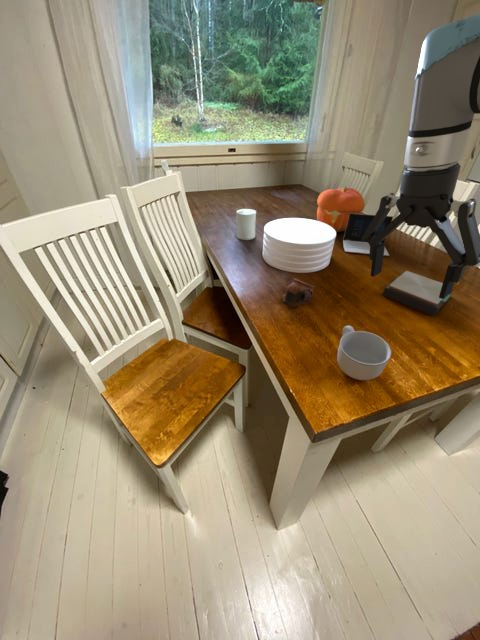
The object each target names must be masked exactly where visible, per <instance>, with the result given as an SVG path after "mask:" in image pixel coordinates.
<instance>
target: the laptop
mask: <svg viewBox="0 0 480 640" xmlns="http://www.w3.org/2000/svg"><path fill="white" fill-rule="evenodd" d="M375 215H376V214H367V213H362V214H353V213H350V215H349V218H348V222H347V226H346V230H345V231H344V234H343V238H342V245H343V249H344V253H350V254H361V255H370V254H369V253H370V245H369V243H367V242H363V241H362V236H363V235H364V233H365V231H366V230H367V228H368V226H369V225H370V223H371V221H372V220H373V218H374V216H375ZM392 220H394V216H390V215H387V217H386V218H385V220H384V221H383V223H382V224H381V226H380V227H379V229H378V231H377V232H376V234H375V235H374V236H377V235H378V234H379V233H380V232H381V231H382V230H383V229H384V228H385V227H387V226H388V225H389V224H390V223H391V222H392ZM386 238H387V237H386ZM386 238H385V239H384V240H383V241H381V242H380V244H381V243H384V244H385V241H386ZM383 257H390V254H389V252H388V249H387V248H386V247H385V248H384V256H383Z"/></svg>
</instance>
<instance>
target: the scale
mask: <svg viewBox="0 0 480 640" xmlns="http://www.w3.org/2000/svg"><path fill="white" fill-rule="evenodd" d="M442 285H443V282H441V281H437V280H436V279H435V280H434V279H432V278H429V277H426V276H423V275H421V274H417V273H414V272H412V271H409V270H406V271H403V272H402V273H400V275H399V276H397V277H396V278H395V279H394V280H393V281H391V282H390V283H389V284H388V285H386V286H385V287H384V289H383V292H382V296H384V297H385V298H388V299H391V300H393V301H396V302H398V303H400V304H402V305H405V306H407V307H410V308H413V309H415V310H417V311H420V312H422V313H425V314H427V315H429V316H432V317H435V315H436V314H437V313H438V312H439V311H440V309H441V308H442V307H443V306H444V305H445V303H446V302H447V301H448V300H449V298H450V297H451V296H452V293H453V292H454V290H455V289H454V288H452V291H451V293H450V294H449V295H448V296H446V297H445V298H444V299H441V298H439V295H440V292H441V288H442Z"/></svg>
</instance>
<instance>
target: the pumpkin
mask: <svg viewBox="0 0 480 640" xmlns="http://www.w3.org/2000/svg"><path fill="white" fill-rule="evenodd" d="M316 203H317V206H318V207H317V210H316V221H319V222H322V223H325V224H327V225H329V226H331V227H332V228H333V229H334V230H335V231H336V233H340V232H345V230H346V226H347V222H348V218H349V215H350V213H353V214H363V211H364V210H365V206H366V205H365V198H364V197H363V195H362V194H361V193H360V192H359V191H358V190H357V189H355V188H351V187H346V186H344V187H340V188H337V189H335V188H328V189H326V190H324V191H322V192H321V193H320V194H319V195H318V197H317V201H316Z"/></svg>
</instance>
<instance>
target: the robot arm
mask: <svg viewBox="0 0 480 640" xmlns="http://www.w3.org/2000/svg"><path fill="white" fill-rule="evenodd" d="M412 99H413V100H412V107H411V113H410V123H409V128H408V134H407V138H406V146H405V153H404V160H403V165H404V166H405V168H403V170H402V173H401V178H400V186H399V196H398V195H397V196H396V194H395V193H394V192H390V193H388V194H387V195H384V196H382V197H381V198H380V201H379V205H378V210H377V211H376V213H375V214H374V215H375V216H374V218H373V220H372V221H371V223H370V225H369V226H368V228H367V230H366V231H365V233H364V235H363V236H362V241H363V242H367V243H369V245H370V253H369V254H368V259H369V260H370V261H371V268H370V277H372V278H374V277H377V276H378V275H379V274H380V273H382V270H383V263H384V257H385V256H384V248H386V243H385V242H384V243H381V244H380V242H381V241H383V240H384V239H385V238H387V237H388V236H389V235H392V233H393V232H394V231H395V230H396V229H398V228H399V227H400V226H402V224H404V223H405V224H406V226H411V227H413V226H414V227H415V226H417V227H419V228H423V229H427V228H428V227H429V229H430V231H431V232H432V233H434V234H435V235H436V237H437V239H438V240H439V241H440V243H441V245H442V247H443V248H444V250H445V251H446V253H447V255H448V257H449V258H450V260H451V261H452V262H451V263H449V264H448V265H447V267H446V270H445V271H446V272H445V274H444V278H443V282H442V283H443V285H442V288H441V292H440V295H439V298H441V299H444V298H445V297H446V296H448V295H449V294H450V293H451V291H452V289H454V285H455V284H457V283H459V282H460V281H461V280H462V279H463V278H464V276H465V272H466V270H467V267H468V266H471V267H475V266H477V265H479V264H480V230H479V226H478V222H477V219H476V207H477V200H476V198H469V199H468V200H462V201H461V200H460V201H457V200H455V201H454V193H455V190H456V186H457V182H458V178H459V175H460V171H461V165H460V163H459V162H460V161H461V160H463V158H464V156H465V152H466V148H467V143H468V140H469V136H470V131H471V127H472V125H473V120H474V117H475V114H478V115H479V114H480V13H478V14H475V15H471V16H467V17H465V18H462V19H460V20H455V21H452V22H449V23H447V24H444V25H443V24H442V25H440V26H439V27H437V28H435V29H433V30H431V31H430V32H429V33H428V34H427V35H426V36H425V38H424V40H423V42H422V46H421V50H420V56H419V60H418V67H417V69H416V75H415V76H414V90H413V98H412ZM395 206H396V208H397V210H398V212H399V214H397V216H395V218H393V219H392V222H391V223H390V224H389V225H388V226H387V227H385V228H384V229H383V230H382V231H381V232H380V233H379V234H378V235H377V236H374V235H375V234H376V232H377V231H378V229H379V227H380V226H381V224H382V223H383V221H384V220H385V218H386V217H387V216H389V213H390V212H391V210H392V209H393V208H395ZM450 211H452V212H453V216H454V217H456V218H457V221H456V222H457V227H458V229H459V233H460V234H459V235H460V237H461V239H460V237H459V236H458V234H457V233H456V231H455V229H454V228H453V226H452V224H451V223H452V221H451V219H450V218H449V215H448V213H449V212H450ZM385 240H386V239H385ZM451 294H452V293H451Z"/></svg>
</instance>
